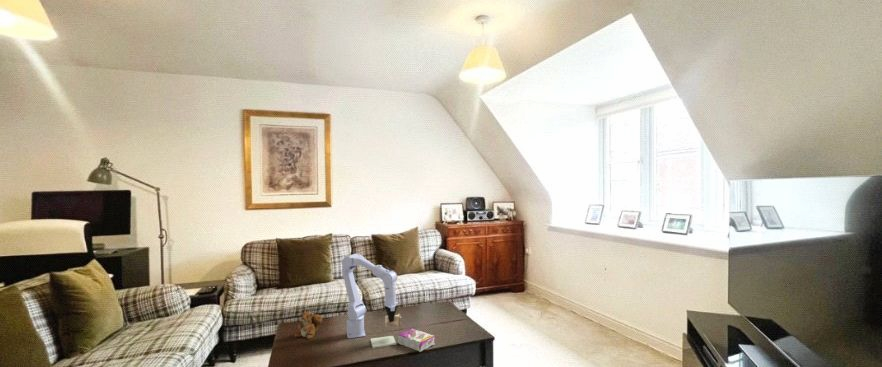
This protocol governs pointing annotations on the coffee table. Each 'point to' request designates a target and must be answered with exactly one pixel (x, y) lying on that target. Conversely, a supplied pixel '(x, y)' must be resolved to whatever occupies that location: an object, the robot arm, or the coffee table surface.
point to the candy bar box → (416, 339)
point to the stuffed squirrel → (308, 325)
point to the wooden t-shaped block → (396, 321)
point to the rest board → (383, 341)
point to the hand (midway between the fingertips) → (390, 320)
